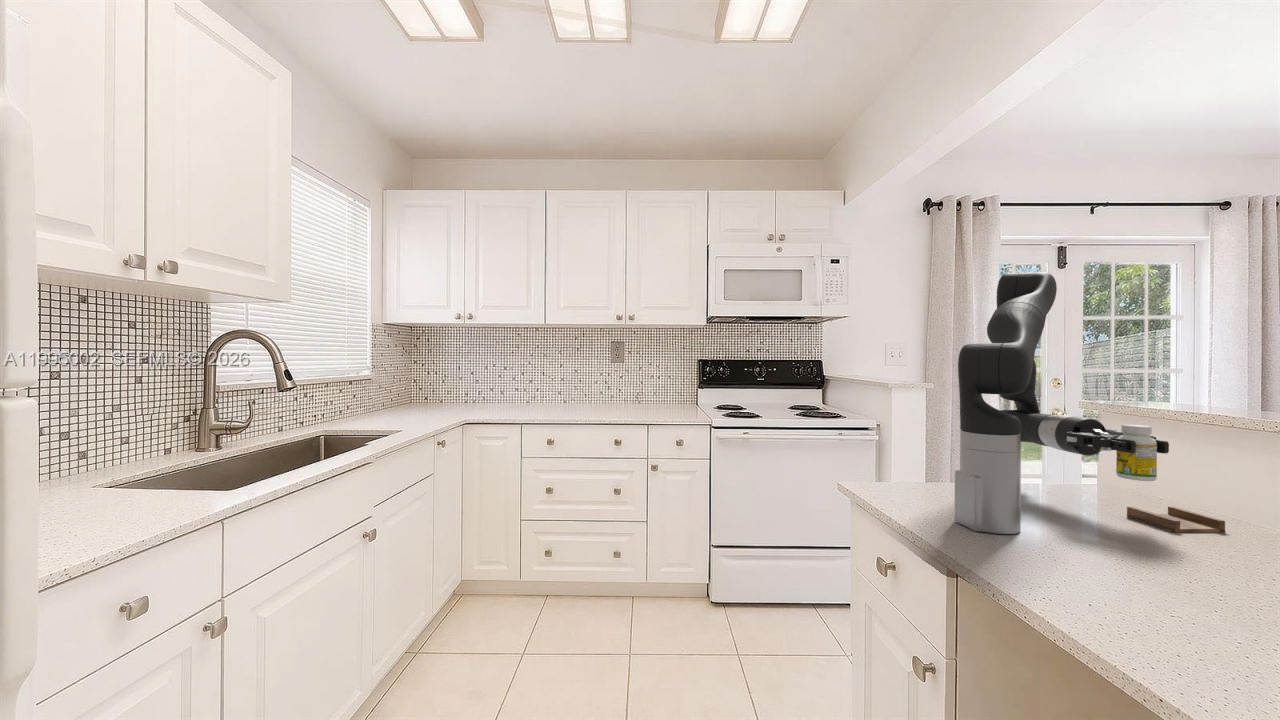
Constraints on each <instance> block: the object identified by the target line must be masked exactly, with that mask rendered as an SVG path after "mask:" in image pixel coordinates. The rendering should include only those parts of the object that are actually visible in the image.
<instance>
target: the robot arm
mask: <svg viewBox="0 0 1280 720" xmlns="http://www.w3.org/2000/svg"><path fill="white" fill-rule="evenodd" d="M1057 286H1058V285H1057V281H1056V279H1055V277H1054V276H1053V275H1052V273H1049V272H1045V271H1031V272H1029V271H1028V272H1027V271H1026V272H1009V273H1004V274H1003V275H1001V277H999V280H998V283H997V287H996V288H997V289H996V309H995V310H994V312H993V313H992V315H991V317H990V319H989V320H988V323H987V327H986V333H987V334H986V335H987V337H988V340H989V342H991V343H988V342H985V343H984V342H983V343H982V342H981V343H980V342H979V343H967V344H964V345H963V346H962V347H961V349H960V351H959V354H958V360H957V361H958V363H957V375H958V390H959V391H958V392H959V420H960V424H959V426H960V428H959V433H960V434H959V435H960V436H959V438H960V439H959V469H958V470H957V469H956V470H955V472H954V522H956V523H957V524H960V525H962V526H964V527H967V528H968V529H970V530H972V531H974V532H982V533H983V532H984V533H989V534H999V535H1014V534H1018V533H1020V532H1021V527H1022V525H1021V523H1022V522H1021V521H1022V517H1021V516H1022V515H1021V510H1022V508H1021V507H1022V506H1021V505H1022V503H1021V502H1022V501H1021V500H1022V498H1021V497H1022V493H1021V492H1022V491H1021V490H1022V488H1021V487H1022V483H1021V481H1022V479H1021V478H1022V474H1021V473H1022V462H1021V461H1022V459H1021V458H1022V457H1021V456H1022V453H1021V452H1022V442H1023V443H1032V444H1036V445H1039V446H1043V447H1049V448H1052V449H1055V450H1057V451H1062V452H1067V453H1073V454H1077V455H1083V456H1088V457H1089V456H1091V457H1092V456H1096V455H1098V454H1099V453H1101V452H1102V451H1105V452H1111V451H1116V452H1117V451H1122V452H1127V453H1135V451H1136V443H1135V441H1133V440H1126V439H1120V438H1118V437H1119V436H1121V435H1124V433H1123V432H1122V431H1120V430H1119V431H1118V430H1117V429H1112V428H1111V429H1110V428H1106V426H1104V425H1103V423H1102V422H1100V421H1099V420H1097V419H1095V418H1090V417H1082V416H1073V415H1064V414H1060V415H1059V414H1057V415H1056V414H1048V413H1041V411H1040V408H1039V403H1038V400H1037V396H1036V383H1037V365H1036V361H1035V354H1036V349H1037V346H1038V344H1039V342H1040V339H1041V337H1042V334H1043V332H1044V328H1045V325H1046V320H1047V315H1048V314H1049V312H1050V311H1051V310H1052V309H1051V308H1052V307H1053V305H1054V302H1055V300H1056V297H1057V290H1058V288H1057ZM983 395H999V397H1001V398H1002V399H1005V400H1007V401H1012V402H1013V403H1014V404H1015V407H1016V409H1001V410H1000V409H997V408H996V407H993V406H992V405H990V404H989V403H987V402H986V401H985V400H984V398H983ZM1150 438H1153V439H1155V440H1156V442H1157V454H1169V453H1170V443H1169V441H1167V440H1161V439H1157V437H1156V436H1154V435H1150Z"/></svg>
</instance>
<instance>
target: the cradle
mask: <svg viewBox="0 0 1280 720" xmlns="http://www.w3.org/2000/svg"><path fill="white" fill-rule="evenodd" d="M1126 518H1129V519H1132V520H1135V521H1139V522H1141V523H1144V524H1147V525H1151V526H1154V527H1156V528H1161V529H1163V530H1166V531H1168V532H1171V533H1226V520H1224V519H1219V518H1215V517H1212V516H1208V515H1205V514H1201V513H1197V512H1195V511H1191V510H1186V509H1184V508H1180V507H1176V506H1167V513H1155V512H1151V511H1148V510H1144V509H1141V508H1137V507H1134V506H1126Z"/></svg>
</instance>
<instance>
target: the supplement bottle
mask: <svg viewBox="0 0 1280 720" xmlns="http://www.w3.org/2000/svg"><path fill="white" fill-rule="evenodd" d="M1120 430H1121V431H1120V432H1123V433H1124V435H1121V436H1119V437H1118V438H1120V439H1126V440H1133V441H1135V443H1136V451H1135V453H1127V452H1122V451H1116V463H1115V464H1116V468H1115V469H1116V471H1115V473H1116V476H1117V477H1118V478H1121V479H1125V480H1131V481H1138V482H1155V481H1157V477H1158V476H1157V470H1158V467H1157V466H1158V465H1157V464H1158V453H1157V442H1156V440H1157V439H1156V440H1155V439H1153V438H1150V436H1152V433H1153V430H1152V426H1149V425H1142V424H1128V423H1126V424H1124V423H1123V424H1121V429H1120Z"/></svg>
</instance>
